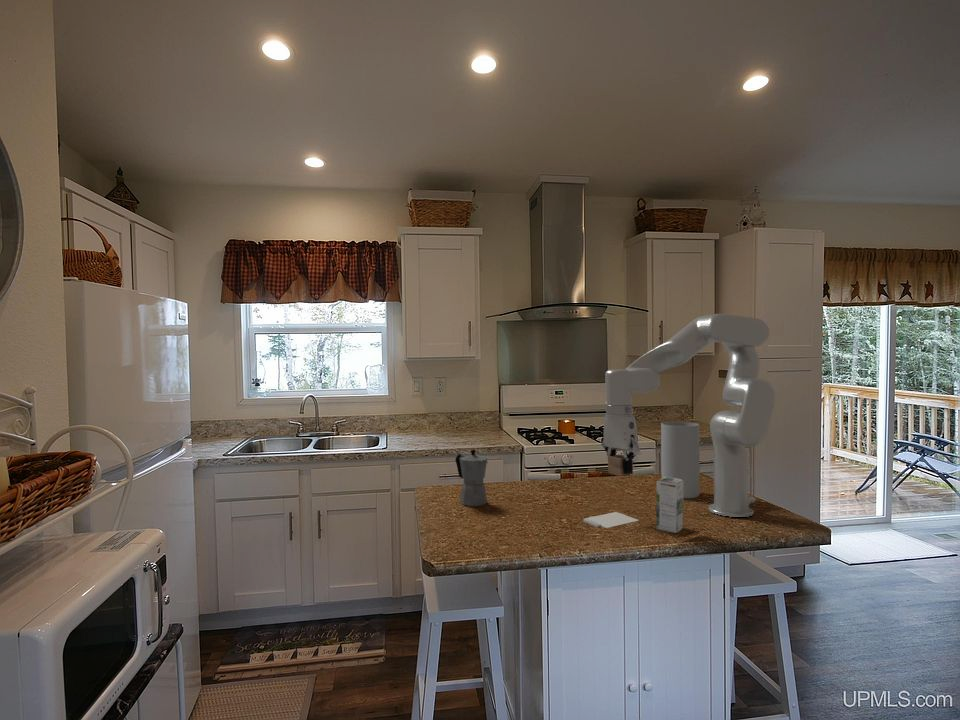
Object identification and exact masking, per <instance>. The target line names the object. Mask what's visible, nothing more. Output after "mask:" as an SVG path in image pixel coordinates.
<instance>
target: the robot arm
mask: <svg viewBox="0 0 960 720" xmlns="http://www.w3.org/2000/svg"><path fill="white" fill-rule="evenodd" d="M769 337H770V328H769V325H768V324H767V323H766V322H765V320H762V319H761V318H758V317H752V316H751V317H750V316H742V315H733V314H729V313H728V314H727V313H714V314H707V315H706V314H705V315H701V316H698V317H696V318H694V319H693V320H691V322H689V323H688V324H687V325H686V326H683V328H681V330H679V331H677V333H675V334H674V335H673V336H672V337H670V338H669V339H667V341H665V342H663V343H661V344H660V345H657V346H656V347H654V348H653V349H652V350H650V351H648V352H646V353H644V354H643V355H641V356H640V357H638V358H637V359H636V360H634V361H633V362H632V363H631V364H629V365H628V366H627V367H626V368H624V369H623V368H619V369H608V370H607V371H605V375H604V376H605V377H604V382H605V415H604V422H603V439H602V441H601V443H600V444H601V446H602V447H603V449H604V451H605V452H606V456H607V457H608V456H614V455H618V454H617V453H618V450H621V451H622V455H624V459H625V460H623V473H624V474H628V473H632V460H633V461H634V459H635V457H636V456H637V455H638V453H640V452H641V448H640V446H639V434H638V429H637V428H638V427H637V421H636V418H635V415H633V413H634V411H635V409H634V408H633V400H632V399H633V398H632V397H633V395H632V393H637V394H639V393H640V394H651V393H653V392H655V391H656V390H657V389H658V388H659V387H660V385H661V377H660V374H659V373H661V372H663V371H665V370H668V369H673V368H677V367H679V366H681V365H684V364H686V363H687V362H688V361H690V360H691V359H692V358H694V357H695V356H696V355H697V354H698V353H699V352H701V351H702V350H704V349H705V348H706V347H707V346H708V345H710V344H713V343H721V344H722V346H723V347H724V348H725V351H726V352H727V354H728V358H729V359H728V360H729V363H728V369H727V373H726V378H725V381H724V386H723V390H722V400H723V402H724V403H725V404H726V405H728V406H730V407H734V408H739V409H741V411H736V410H735V411H734V410H721V411H718V412H717V413H715V414H714V415H713V416H712V417H711V420H710V423H709V431H710V436H711V440H712V445H713V446H712V449H713V503H711V504H709V505H708V511H709V512H710V513H712V514H714V513H715V514H714V515H717V514H718V516H720V515H722V516H721V517H725V516H729V517H728V518H731V517H748V518H750V517H749V516H752V515H753V514H755V512H754V510H753V509H752V508H751V507H750V506H749V505H751V504H754V503H756V498H755V497H754V496H749V493H748V492H749V490H748V489H749V483H748V482H749V481H748V479H749V477H748V476H749V475H748V474H749V473H748V470H749V469H748V462H749V460H748V459H749V458H748V452H747V449H746V446H747V447H756V446H758V445H760V444H761V443H763V442H764V440H765V439H766V437H767V435H768V431H769V428H770V424H771V419H772V416H773V412H774V406H775V403H776V402H775V401H776V393H775V389H774V387H773V385H772V384H771V383H770V382H769V381H767V380H766V379H764V378H763V379H762V378H759V373H760V367H761V361H760V356H759V354H758V352H757V350H756V348H755V347H760V346H762V345H764V344H765V343H766V342H767V341H768V339H769ZM753 516H754V515H753ZM753 516H752V517H753Z"/></svg>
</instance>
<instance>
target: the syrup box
mask: <svg viewBox="0 0 960 720" xmlns="http://www.w3.org/2000/svg"><path fill="white" fill-rule="evenodd" d="M655 490H656V491H655V492H656V494H655V495H656V498H655V499H656V500H655V501H656V503H655V505H656V507H655V508H656V509H655V515H656V516H655V519H656V520H655V521H656V522H655V529H656V530H659V531H664V532H669V533H675V534H677V533H678V532H680V531H682V529H684V499H683V480H681V479H677V478H672V477H663V478H662V477H661V478H659V479H657V480H656V489H655Z"/></svg>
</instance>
